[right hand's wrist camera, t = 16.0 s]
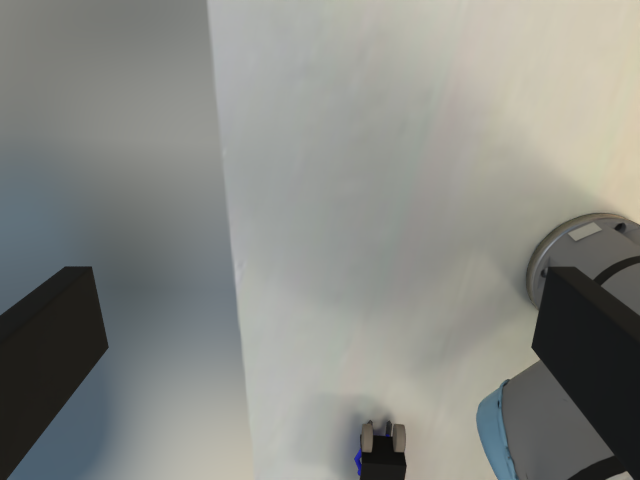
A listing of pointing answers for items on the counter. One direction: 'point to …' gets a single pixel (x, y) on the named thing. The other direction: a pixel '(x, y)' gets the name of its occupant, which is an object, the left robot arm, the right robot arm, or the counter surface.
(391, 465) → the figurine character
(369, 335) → the counter surface
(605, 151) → the counter surface
